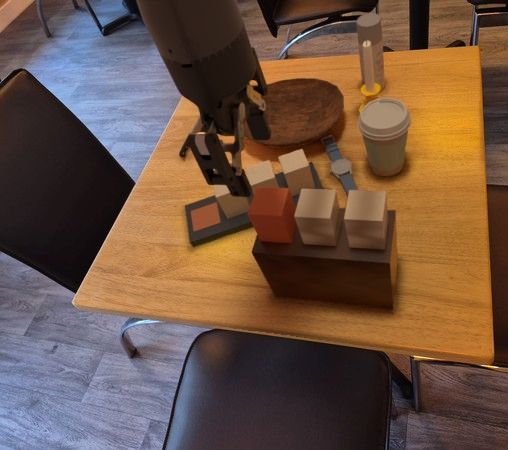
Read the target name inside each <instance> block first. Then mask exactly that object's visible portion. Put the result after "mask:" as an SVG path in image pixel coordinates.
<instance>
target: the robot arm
mask: <svg viewBox="0 0 508 450" xmlns="http://www.w3.org/2000/svg"><path fill="white" fill-rule="evenodd" d="M135 2H136V4H137V7H138V10H139V13H140V16H141V18H142V21H143V23H144V25H145V27H146V30H147V33H148V34H149V36H150V38H151V39H152V42H153V43H154V45H155V47H156V50H157V51H158V54H159V56H160V57H161V59H162V62H163V63H164V65H165V67H166V69H167V71H168V73H169V75H170V78H171V79H172V81H173V83H174V85H175V87H176V89H177V91H178V92H179V94H180V95H181V96H182V97H183V98H185V99H186V100H188V101H189V102H191V103H192V104H194V105H195V107H197V109H198V112H199V116H200V118H201V122H202V125H201V127H200V129H199V132H198V133H190V132H189V133H188V135H187V136H186V139H187V142H188V145H189V149H190V151H191V153H192V155H193V157H194V159H195V161H196V164H197V165H198V168H199V170H200V172H201V174H202V176H203V178H204V180H205V182H206V184H207V185H208V186H213V185H226V186H227V188H228V190H229V191H230V194H231V195H232V196H233V197H250V196H251V193H252V187H251V185H250V183H249V180H248V177H247V173H246V170H245V168H243V164H242V152H243V151H244V150H245V148H246V139H245V138H246V137H244V124H245V121H246V122H247V124H248V127H249V130H250V132H251V135H252V137H253V139H255V140H269V139H270V137H271V134H272V133H271V130H270V127H269V124H268V121H267V118H266V115H265V112H264V111H265V108H266V104H265V101H264V100H263V96H267V95H268V87H267V81H266V78H265V75H264V73H263V69H262V67H261V63H260V61H259V58H258V55H257V51H256V49H255V47H254V46H252V45H251V42H250V38H249V35H248V32H247V29H246V26H245V23H244V19H243V15H242V13H241V10H240V7H239V4H238V0H135ZM251 81H255V82H256V84H251ZM219 136H221V137H234V141H233V142H224V140H222V139H220V137H219ZM226 153H230V155H231V162H230V161H229V159H228V156H227V154H226Z"/></svg>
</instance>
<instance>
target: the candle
mask: <svg viewBox="0 0 508 450" xmlns="http://www.w3.org/2000/svg"><path fill="white" fill-rule="evenodd" d="M363 60H364V72H365V85H363V86H361V87H360V89H359V90H360V94H361V95H363V96H364V99H363V103H362V104H361V105H360V106H359V108H358V111H359V112H358V113H359V114H360V113H361V110H362V109H363V107H364V106H365V105H366V104H368V103H369V102H371V101H373V100H376V99H380V98H379V97H378V94H379V93H380V92H379V91H380V90H381V87H380V85H379V84H377V83H374V71H373V59H372V48H371V42H370V41H367V40H366V41H365V42H364V43H363Z"/></svg>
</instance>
